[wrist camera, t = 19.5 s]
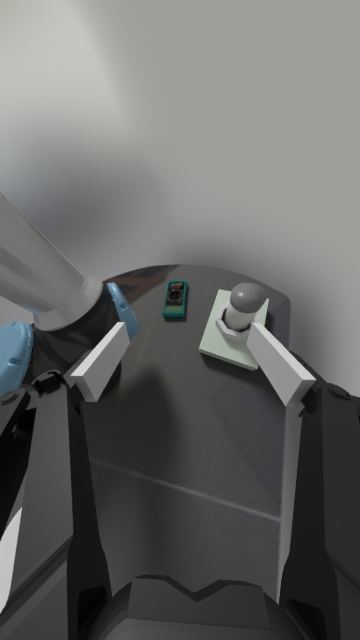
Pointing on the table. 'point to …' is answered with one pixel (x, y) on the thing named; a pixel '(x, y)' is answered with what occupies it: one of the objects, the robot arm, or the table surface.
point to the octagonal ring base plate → (229, 335)
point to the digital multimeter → (175, 299)
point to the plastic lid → (8, 557)
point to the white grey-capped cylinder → (243, 306)
